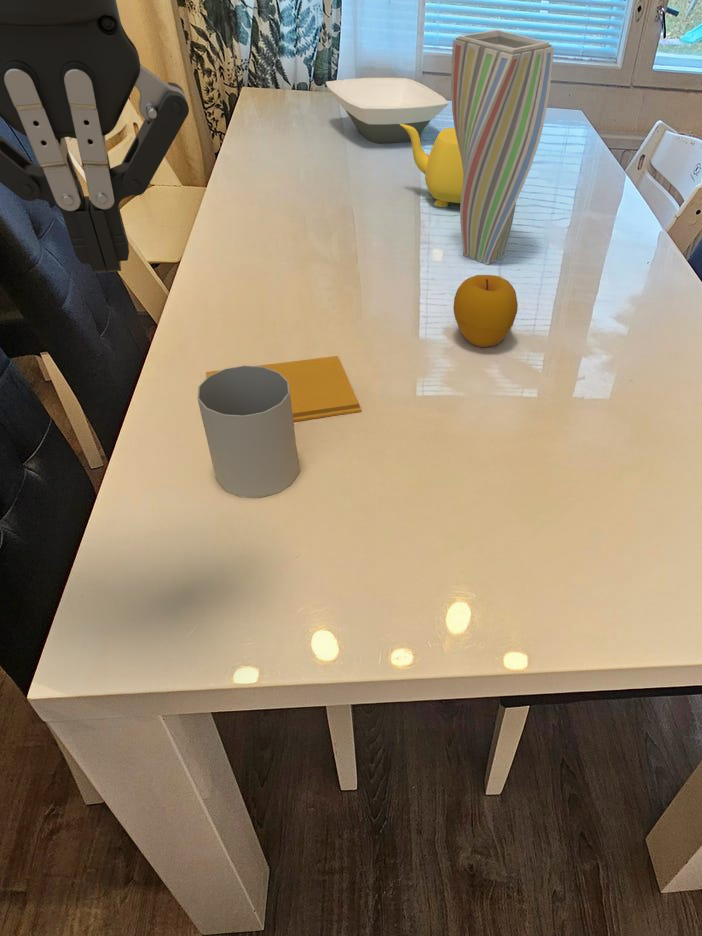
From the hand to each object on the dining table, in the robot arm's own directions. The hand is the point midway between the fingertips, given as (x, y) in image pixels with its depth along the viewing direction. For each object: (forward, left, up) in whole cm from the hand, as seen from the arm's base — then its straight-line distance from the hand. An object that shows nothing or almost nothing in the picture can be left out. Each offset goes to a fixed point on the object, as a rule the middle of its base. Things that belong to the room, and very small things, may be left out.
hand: (107, 266), depth 42 cm
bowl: (+51, +120, -29) cm, 134 cm away
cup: (+7, +14, -29) cm, 33 cm away
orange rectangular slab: (+12, +27, -29) cm, 41 cm away
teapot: (+53, +82, -29) cm, 102 cm away
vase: (+50, +58, -29) cm, 82 cm away
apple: (+40, +33, -29) cm, 60 cm away
